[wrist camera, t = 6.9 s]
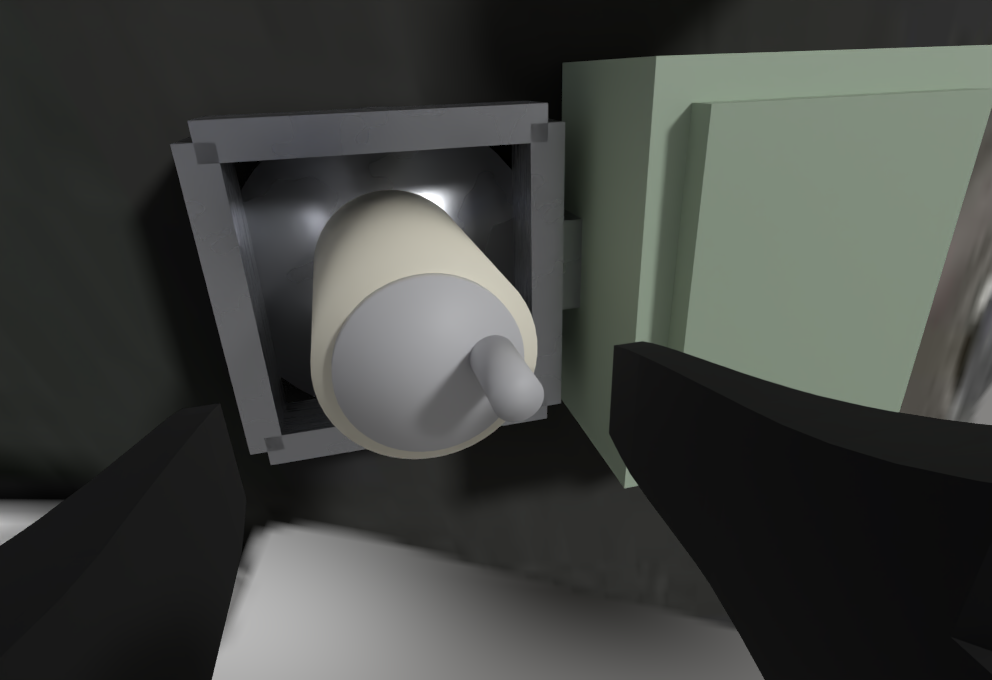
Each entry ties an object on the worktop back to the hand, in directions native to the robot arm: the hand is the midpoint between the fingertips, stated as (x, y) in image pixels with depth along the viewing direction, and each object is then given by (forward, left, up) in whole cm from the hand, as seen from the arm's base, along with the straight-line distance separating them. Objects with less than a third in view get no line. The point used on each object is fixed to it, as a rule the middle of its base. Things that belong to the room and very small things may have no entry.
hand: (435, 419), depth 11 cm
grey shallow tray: (0, 0, -10) cm, 10 cm away
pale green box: (+11, 0, -10) cm, 15 cm away
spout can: (0, 0, -9) cm, 9 cm away
